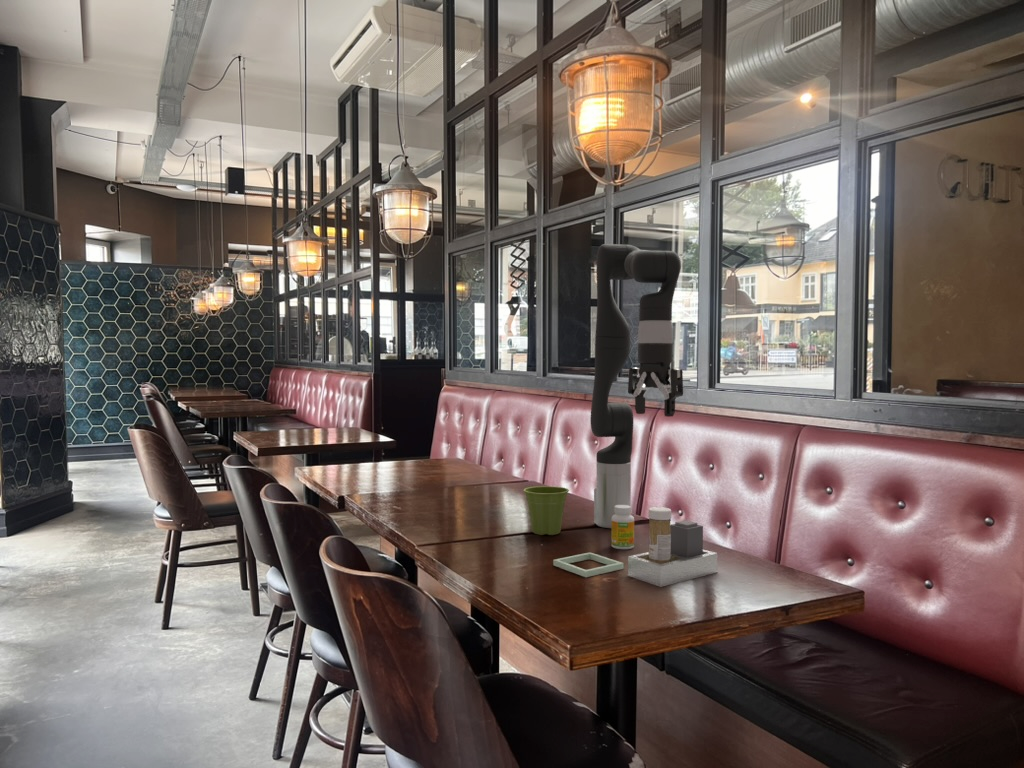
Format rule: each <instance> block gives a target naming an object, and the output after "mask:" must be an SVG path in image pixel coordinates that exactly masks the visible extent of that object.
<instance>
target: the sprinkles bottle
mask: <svg viewBox="0 0 1024 768" xmlns="http://www.w3.org/2000/svg"><path fill="white" fill-rule="evenodd" d="M648 520H649V522H648V523H649V526H648V528H649V529H648V531H649V534H648V552H649V561H652V562H655V563H658V564H664V563H668V562H670V552H671V533H670V525H671V521H672V510H671V508H668V507H662V506H654V507H653V506H652V507H650V508H648Z"/></svg>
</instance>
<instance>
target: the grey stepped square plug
mask: <svg viewBox="0 0 1024 768" xmlns="http://www.w3.org/2000/svg"><path fill="white" fill-rule="evenodd" d="M670 533H671V552H670V553H673V554H676V555H680V556H683V557H687V558H689V557H694V556H698V555H702V554H703V550H704V525H699V524H698V522H695V521H691V520H688V519H687V520H686V519H685V520H680V521H679V520H678V521H675V523H672V524H671V523H670Z"/></svg>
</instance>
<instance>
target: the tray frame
mask: <svg viewBox="0 0 1024 768" xmlns="http://www.w3.org/2000/svg"><path fill="white" fill-rule="evenodd" d="M587 560H592V561H595V562H598V563H601V564H604V565H603V566H602V565H601V566H598V567H593V568H588V569H584V568H582V567H578V566H577V565H574V564H572V563H578V562H582V561H587ZM552 563H553V566H554V567H557V568H559V569H562V570H565V571H567V572H570V573H573V574H576V575H579V576H580V577H583V578H589V577H594V576H598V575H601V574H607V573H611V572H616V571H619V570H624V562H621V561H619V560H615V559H611V558H610V557H609V558H608V557H606V556H603V555H600V554H596V553H593V552H585V553H581V554H575V555H571V556H565V557H561V558H556V559H553V562H552Z"/></svg>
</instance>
